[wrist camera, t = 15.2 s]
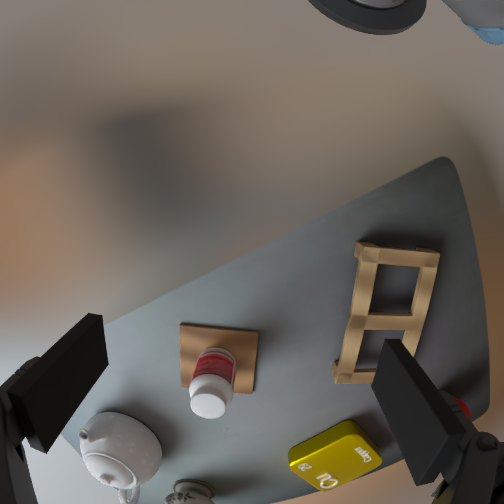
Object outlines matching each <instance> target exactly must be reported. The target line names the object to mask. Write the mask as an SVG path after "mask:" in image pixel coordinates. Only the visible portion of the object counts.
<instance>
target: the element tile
mask: <svg viewBox="0 0 504 504" xmlns="http://www.w3.org/2000/svg"><path fill="white" fill-rule="evenodd" d="M288 459H289V467H290V469H291V470H292V471H293V472H294V473H296V474H297V475H298V476H300V477H301V478H303V479H304V480H305V481H307V482H308V483H310V484H311V485H312V486H314V487H315V488H317V489H318V490H321V491H328V490H331V489H334V488H336V487H338V486H340V485H342V484H345V483H347V482H349V481H351V480H353V479H355V478H357V477H359V476H361V475H363V474H365V473H367V472H369V471H371V470H373V469H375V468H376V467H378V466H379V465H380V464H381V463H382V458H381V455H380V452H379V450H378V447H377V446H376V445H375V444H374V443H373V442H372V440H371V439H370V438H369V437H368V436H367V435H366V434H365V433H364V432H363V431H362V429H361V428H360V427H359V426H358V425H357V424H356V423H355V422H354V421H351V420H347V421H343V422H341V423H339V424H337V425H336V426H334V427H332V428H330V429H328V430H326V431H324V432H323V433H321V434H319V435H317V436H315V437H313V438H311V439H309V440H307V441H305V442H303V443H301V444H299V445H297V446H295V447H293V448H291V449H290V450H289V452H288Z"/></svg>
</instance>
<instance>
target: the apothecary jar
mask: <svg viewBox="0 0 504 504" xmlns="http://www.w3.org/2000/svg"><path fill="white" fill-rule="evenodd" d="M173 489H174V491H175V493H172V494H170V495H168V496H167V497H166V498H165V501H164V504H215V503H214V502H213V501H212V500H210V499H211V498H212V497H213V496H214V490H213V488H212V487H211V486H209V485H208V484H206V483H204V482H201V481H198V480H192V479H183V480H179V481H176V482H175V483H174V484H173Z"/></svg>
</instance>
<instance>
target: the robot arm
mask: <svg viewBox="0 0 504 504" xmlns="http://www.w3.org/2000/svg"><path fill="white" fill-rule="evenodd" d="M347 1H349V2H351V3H353V4H355V5H358V6H361V7H364V8H367V9H372V10H390V9H394V8H396V7H398V6H400V5H401V4H402V3H403V2H404V1H405V0H347ZM442 1H443V2H445V4H446V5H448V6H449V7H450V8H451V9H452V10H453V11H454V12H455V13H456V14H457V15H458V16H459V17H460V18H461V20H462V22H463V23H464V24H465V25H467V26H468V27H469V28H471V29H472V30H473V31H474V32H475V33H476V34H477V35H478V36H479V37H480V38H481V39H482V40H484V41H485V42H487V43H490V44H495V45H496V44H497V45H500V44H504V0H442ZM108 365H109V363H108V357H107V350H106V343H105V335H104V327H103V318H102V315H97V314H91V313H88V314H87V315H86V316H85V317H84V318H82V319H81V320H80V321H79V322H78V323H77V324H76V325H75V326H74V327H73V328H71V329H70V330H69V331H68V332H67V333H66V334H65V335H64V336H63V337H62V338H61V339H59V341H57V342H56V343H55V344H54V345H53V346H52V347H51V348H50V349H49V350H48V351H47V352H46V353H45V354H43V355H42V356H41V357H34V358H33V359H30V360H28V361H27V362H25V363H24V364H23V365H22V366H21V367H20V369H18V370H17V371H16V372H15V374H13V375H12V376H11V377H10V378H9V379H8V380H7V381H6V382H4V383H3V384H2V385H1V386H0V504H38V502H37V499H36V495H35V492H34V488H33V485H32V481H31V477H30V473H29V469H28V464H27V460H26V456H25V451H24V448H23V445H22V443H21V442H22V441H23V439H24V438H25V437H26V438H27V440H28V442H29V444H30V446H31V447H32V448H34V449H36V450H39V451H41V452H43V453H46V454H47V452H48V451H49V449H50V448H51V446H52V445H53V443H54V442H55V440H56V439H57V437H58V436H59V434H60V433H61V431H62V430H63V428H64V427H65V425H66V424H67V422H68V421H69V420H70V418H71V417H72V415H73V414H74V412H75V411H76V409H77V408H78V407H79V405H80V404H81V402H82V401H83V399H84V398H85V397H86V395H87V394H88V392H89V391H90V390H91V388H92V387H93V385H94V384H95V383H96V381H97V380H98V378H99V377H100V376H101V374H102V373H103V371H104V370H105V369H106V367H107V366H108ZM371 387H372V389H373V391H374V393H375V396H376V398H377V400H378V402H379V404H380V406H381V408H382V410H383V413H384V415H385V417H386V419H387V421H388V423H389V426H390V428H391V430H392V432H393V434H394V437H395V439H396V441H397V443H398V445H399V448H400V450H401V452H402V454H403V457H404V459H405V461H406V463H407V466H408V468H409V470H410V473H411V475H412V477H413V480H414V482H415V484H416V486H419V485H423V484H428V483H432V482H434V480H435V479H436V478H437V476H438V475H439V473H440V472H441V474H442V476H443V478H444V479H443V481H442V482H441V483H440V485H439V486H438V487H437V489H436V490H435V491H434V493H433V494H432V496H434V495H435V494H436V495H435V497H434V500H433V502H432V504H504V442H499V441H498V439H497V438H496V437H495V436H493V435H492V434H490V433H488V432H478V430H477V429H476V428H475V427H474V425H473V423H472V422H471V421H470V419H469V418H468V417H467V415H466V414H465V412H463V410H462V408H461V407H460V406H458V403H457V402H456V400H455V399H454V398H453V396H451V395H450V394H449V393H447V392H446V391H444V390H437V388H436V387H435V385H434V384H433V383H432V381H431V380H430V379H429V377H428V376H427V375H426V373H425V372H424V371H423V369H422V368H421V367H420V365H419V364H418V363H417V361H416V360H415V359H414V357H413V356H412V355H411V353H410V352H409V351H408V349H407V348H406V347H405V346H404V344H403V343H402V342H401V340H400V339H385V341H384V345H383V348H382V352H381V356H380V359H379V362H378V366H377V369H376V372H375V376H374V379H373V382H372V385H371Z"/></svg>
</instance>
